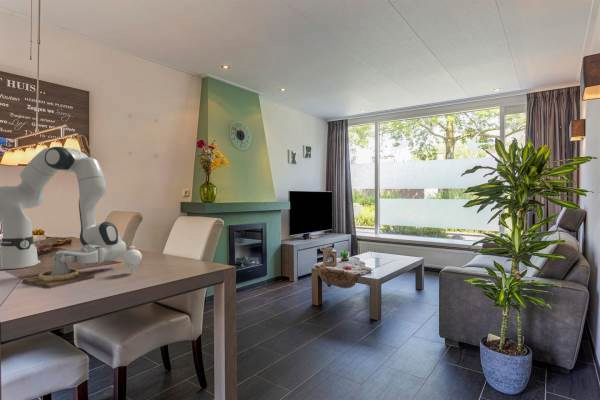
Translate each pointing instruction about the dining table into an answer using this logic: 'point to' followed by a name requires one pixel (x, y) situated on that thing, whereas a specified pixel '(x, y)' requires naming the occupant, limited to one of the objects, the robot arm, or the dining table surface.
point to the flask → (60, 266)
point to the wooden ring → (46, 275)
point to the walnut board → (57, 283)
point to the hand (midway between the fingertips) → (57, 259)
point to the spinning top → (132, 258)
